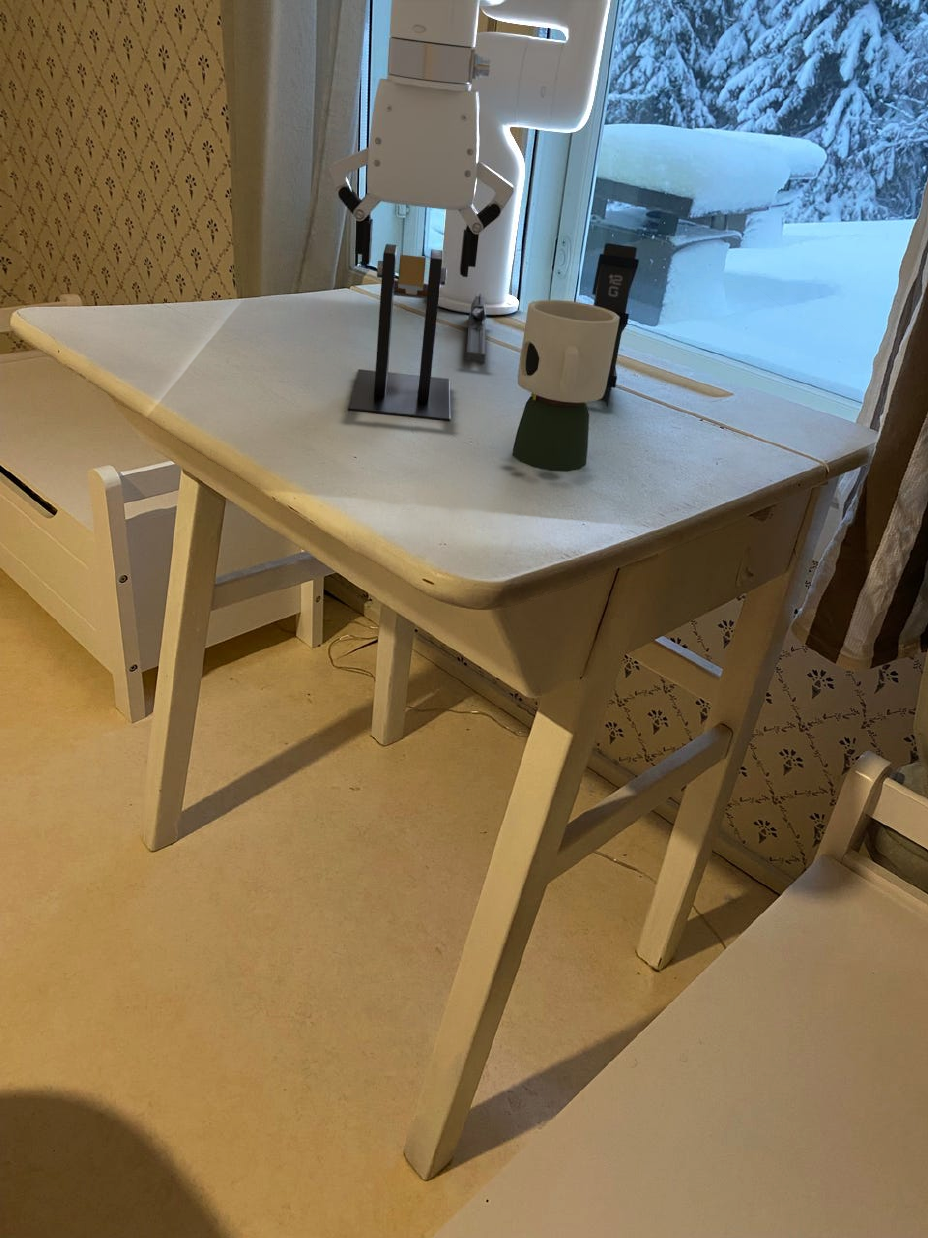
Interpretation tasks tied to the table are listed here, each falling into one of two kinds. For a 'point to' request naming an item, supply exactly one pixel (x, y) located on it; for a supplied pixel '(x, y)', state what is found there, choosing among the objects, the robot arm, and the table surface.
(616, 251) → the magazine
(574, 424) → the character mug
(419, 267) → the switch lever
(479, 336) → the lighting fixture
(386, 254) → the stand
